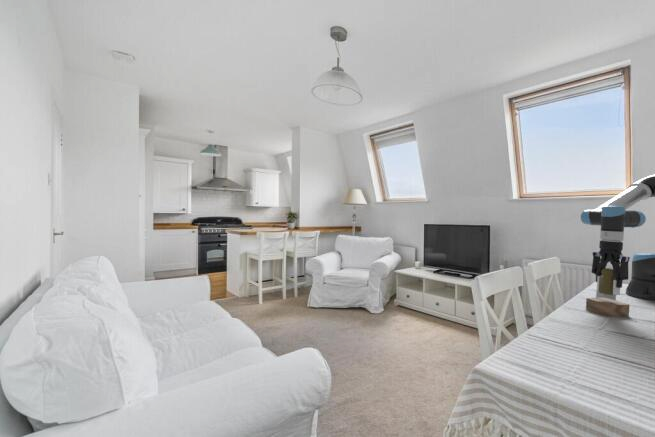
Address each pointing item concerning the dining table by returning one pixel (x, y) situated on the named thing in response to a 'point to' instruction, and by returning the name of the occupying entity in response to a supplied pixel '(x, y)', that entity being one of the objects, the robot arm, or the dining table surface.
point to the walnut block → (607, 307)
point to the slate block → (605, 295)
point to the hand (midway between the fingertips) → (607, 292)
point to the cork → (607, 281)
